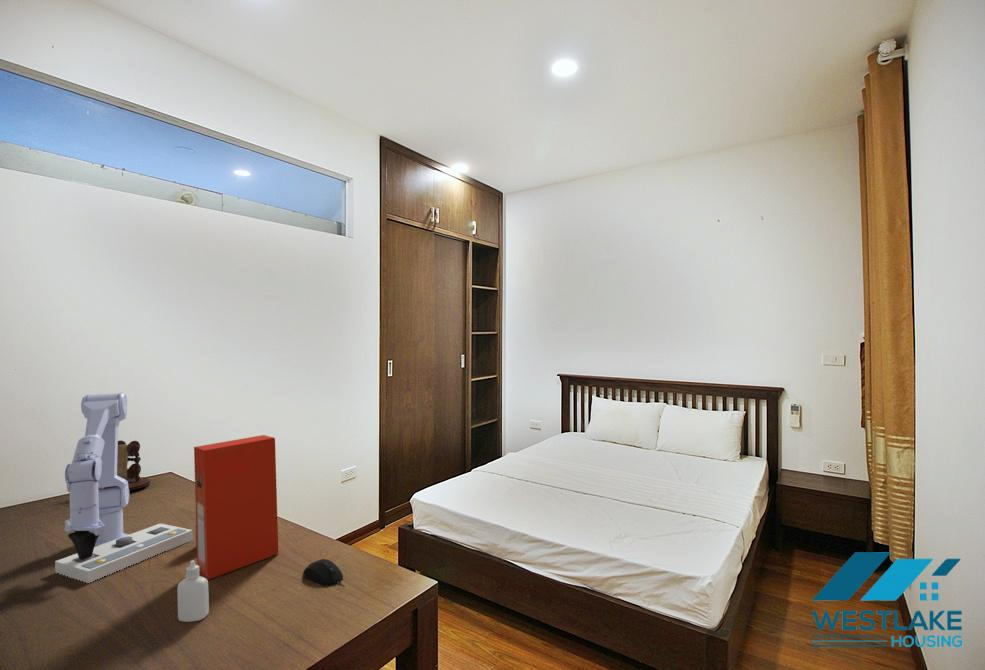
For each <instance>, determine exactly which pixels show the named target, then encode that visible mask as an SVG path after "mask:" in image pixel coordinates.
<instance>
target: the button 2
mask: <svg viewBox="0 0 985 670" xmlns="http://www.w3.org/2000/svg"><path fill="white" fill-rule="evenodd" d="M164 531H165V528H160V529H156V530H153V531H151V534H153V535H156V534H159V533H161V532H164Z"/></svg>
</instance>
